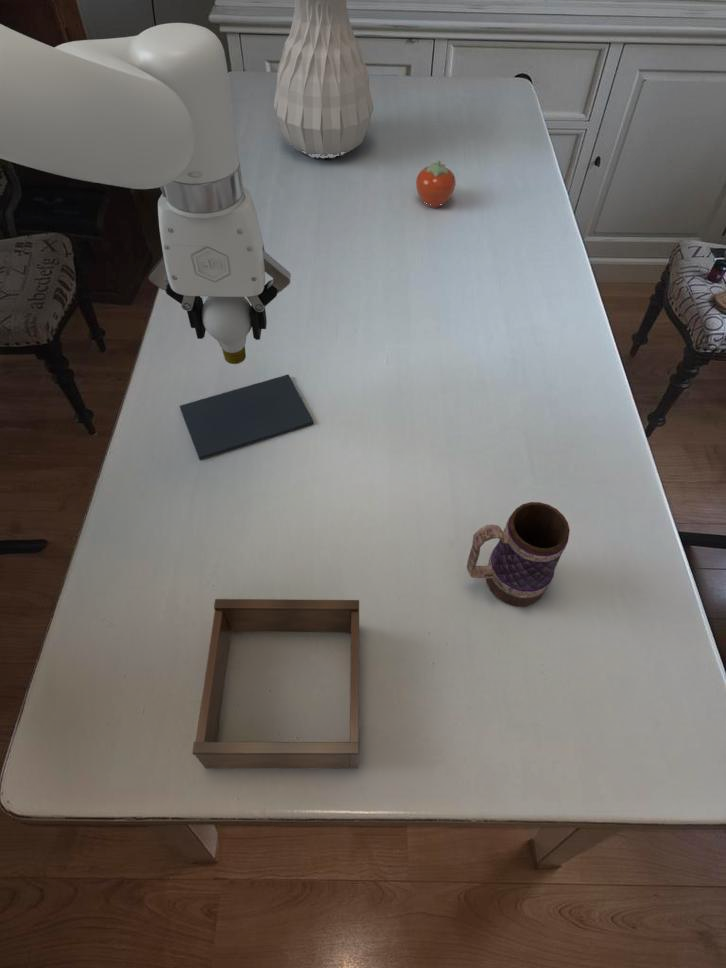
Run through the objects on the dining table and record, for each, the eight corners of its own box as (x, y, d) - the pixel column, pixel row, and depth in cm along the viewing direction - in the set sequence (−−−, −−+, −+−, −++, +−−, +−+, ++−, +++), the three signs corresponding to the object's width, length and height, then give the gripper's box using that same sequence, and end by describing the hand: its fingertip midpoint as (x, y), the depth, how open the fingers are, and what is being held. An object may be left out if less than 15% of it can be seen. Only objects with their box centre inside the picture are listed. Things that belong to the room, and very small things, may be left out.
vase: (295, 178, 125) (283, -6, 100) (264, 133, 135) (246, -43, 111) (387, 161, 130) (396, -19, 105) (350, 119, 140) (351, -53, 116)
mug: (536, 550, 75) (564, 492, 65) (553, 605, 71) (586, 551, 61) (452, 558, 74) (468, 500, 64) (464, 613, 70) (483, 560, 60)
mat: (199, 460, 82) (198, 457, 81) (180, 408, 87) (179, 405, 87) (313, 424, 86) (313, 421, 86) (288, 377, 91) (288, 374, 91)
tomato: (456, 211, 119) (463, 169, 112) (418, 214, 118) (422, 171, 111) (447, 191, 123) (453, 149, 117) (410, 193, 122) (414, 151, 116)
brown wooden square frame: (204, 769, 60) (192, 753, 55) (224, 623, 69) (215, 598, 64) (357, 769, 60) (359, 753, 55) (358, 624, 69) (359, 599, 64)
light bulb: (213, 381, 76) (198, 314, 68) (210, 348, 80) (195, 281, 72) (262, 375, 77) (252, 308, 69) (257, 343, 81) (247, 276, 73)
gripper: (102, 202, 58) (151, 352, 72) (290, 206, 58) (301, 354, 73) (121, 162, 62) (163, 310, 77) (295, 165, 63) (304, 312, 77)
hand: (230, 330), depth 75 cm, fingers closed on light bulb, 6 cm apart
